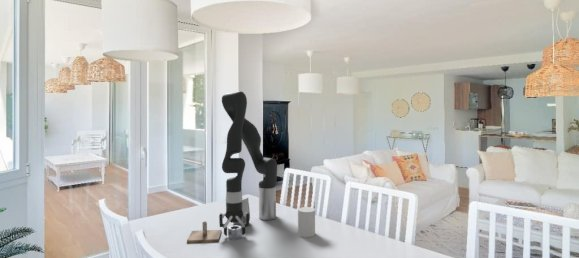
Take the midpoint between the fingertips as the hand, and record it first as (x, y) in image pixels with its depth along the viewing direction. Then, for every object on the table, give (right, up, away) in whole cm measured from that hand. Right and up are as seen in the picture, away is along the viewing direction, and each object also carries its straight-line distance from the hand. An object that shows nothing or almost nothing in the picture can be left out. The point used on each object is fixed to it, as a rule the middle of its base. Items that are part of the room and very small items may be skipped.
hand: (234, 234), depth 157 cm
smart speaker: (0, 0, +18) cm, 18 cm away
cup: (+34, -1, +3) cm, 34 cm away
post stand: (-14, -1, 0) cm, 14 cm away
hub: (0, -1, 0) cm, 1 cm away
